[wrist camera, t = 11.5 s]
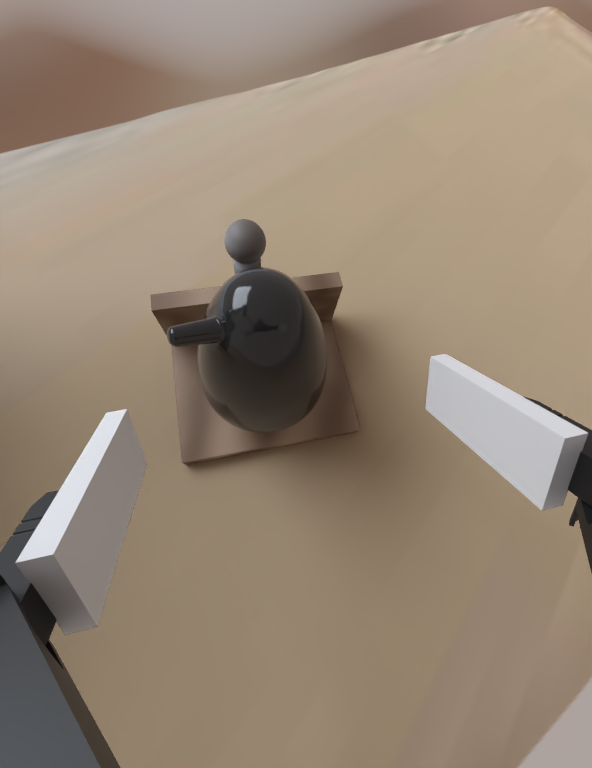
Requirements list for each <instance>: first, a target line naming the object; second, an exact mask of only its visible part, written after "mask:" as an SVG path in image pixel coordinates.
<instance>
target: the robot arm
mask: <svg viewBox="0 0 592 768" xmlns="http://www.w3.org/2000/svg"><path fill="white" fill-rule="evenodd" d="M426 410H427V411H428V412H430V413H431V414H432V415H433V416H434V417H435V418H436V419H438V420H439V421H440V422H441V423H442V424H443V425H444V426H446V427H447V428H448V429H449V430H450V431H451V432H452V433H454V434H455V435H456V436H457V437H458V438H459V439H460V440H462V441H463V442H464V443H465V444H466V445H467V446H468V447H470V448H471V449H472V450H473V451H474V452H475V453H476V454H478V455H479V456H480V457H481V458H482V459H483V460H484V461H486V462H487V463H488V464H489V465H490V466H491V467H492V468H494V469H495V470H496V471H497V472H498V473H499V474H500V475H502V476H503V477H504V478H505V479H506V480H507V481H509V482H510V483H511V484H512V485H513V486H514V487H515V488H517V489H518V490H519V491H520V492H521V493H522V494H523V495H525V496H526V497H527V498H528V499H529V500H530V501H531V502H533V503H534V504H535V505H536V506H537V507H538V508H539V509H541V510H542V511H543V510H546V509H550V508H554V507H558V506H562V505H563V503H564V501H565V498H566V495H567V492H568V490H569V491H570V492H572V493H573V494H574V495H576V496H577V497H578V500H577V502H576V505H575V508H574V510H573V513H572V515H571V518H570V522H569V525H570V526H574V524H575V521H577V520H579V523H580V528H581V531H582V536H583V540H584V544H585V548H586V552H587V556H588V560H589V564H590V568H591V572H592V430H590V429H588V428H586V427H585V426H583V425H581V424H579V423H577V422H575V421H574V420H572V419H570V418H568V417H566V416H563V415H562V414H561V413H559V412H557V411H555V410H552V409H551V408H550V407H548V406H546V405H544V404H542V403H540V402H538V401H535V400H532V399H529V398H526V397H523V396H521V395H519V394H517V393H515V392H513V391H512V390H510V389H508V388H506V387H504V386H503V385H501V384H499V383H497V382H495V381H494V380H492V379H490V378H488V377H486V376H485V375H483V374H481V373H479V372H477V371H476V370H474V369H472V368H470V367H468V366H466V365H465V364H463V363H461V362H459V361H457V360H456V359H454V358H452V357H450V356H448V355H447V354H443V355H437V356H431V357H430V366H429V377H428V387H427V398H426ZM146 465H147V463H146V460H145V457H144V455H143V452H142V449H141V446H140V444H139V441H138V438H137V435H136V432H135V430H134V427H133V424H132V421H131V419H130V416H129V413H128V410H127V409H124V410H119V411H113V412H107V413H106V414H105V416H104V418H103V419H102V421H101V423H100V424H99V426H98V427H97V429H96V431H95V432H94V434H93V436H92V437H91V439H90V441H89V442H88V444H87V446H86V447H85V449H84V450H83V452H82V454H81V455H80V457H79V459H78V460H77V462H76V464H75V465H74V467H73V469H72V470H71V472H70V473H69V475H68V477H67V478H66V480H65V482H64V483H63V485H62V487H61V488H60V490H58V491H53V492H48V493H46V494H45V495H44V496H43V497H41V498H40V499H39V500H38V501H37V502H36V503H35V504H34V505H32V506H31V508H30V509H29V511H28V512H27V514H26V515H25V517H24V518H23V520H22V521H21V522H22V523H21V524H19V525H18V527H17V528H16V530H15V531H14V533H13V536H11V537H10V539H9V540H8V542H7V543H6V545H5V546H4V548H3V549H2V551H1V552H0V768H120V766H119V764H118V762H117V761H116V759H115V757H114V755H113V753H112V751H111V750H110V748H109V746H108V744H107V742H106V741H105V739H104V737H103V735H102V733H101V731H100V730H99V728H98V726H97V724H96V722H95V720H94V719H93V717H92V715H91V713H90V711H89V710H88V708H87V706H86V704H85V702H84V700H83V699H82V697H81V695H80V693H79V691H78V690H77V688H76V686H75V684H74V682H73V680H72V679H71V677H70V675H69V673H68V671H67V669H66V668H65V666H64V664H63V662H62V660H61V659H60V657H59V655H58V653H57V651H56V649H55V648H54V646H53V644H52V643H51V642H50V640H49V637H50V635H51V632H52V630H53V628H54V625H55V623H56V622H57V624H58V625H59V627H60V628H61V630H62V631H63V632H64V634H65V635H67V634H71V633H75V632H78V631H82V630H86V629H90V628H94V627H97V626H98V623H99V620H100V617H101V613H102V610H103V607H104V603H105V600H106V597H107V594H108V590H109V587H110V584H111V580H112V577H113V574H114V571H115V567H116V564H117V561H118V557H119V554H120V551H121V548H122V544H123V541H124V538H125V534H126V531H127V528H128V525H129V521H130V518H131V515H132V511H133V508H134V505H135V502H136V498H137V495H138V492H139V488H140V485H141V482H142V478H143V475H144V472H145V469H146Z"/></svg>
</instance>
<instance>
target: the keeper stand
mask: <svg viewBox="0 0 592 768" xmlns="http://www.w3.org/2000/svg"><path fill="white" fill-rule="evenodd" d="M265 246H266V239H265V235H264V233H263V231H262V229H261V228H260V227H259V226H258V225H257V224H256V223H255V222H253V221H250V220H246V219H242V220H238V221H235V222H234V223H232V224H231V225H230V226H229V227H228V229H227V231H226V234H225V247H226V250H227V252H228V254H229V255H230V256H231V257H232V258H233V263H234V269H235V274H237V273H239V272H241V271H243V270H246V269H250V268H258V267H261V258H260V257H261V256H262V255H263V253H264V250H265ZM291 279H293V280H294V281H295V282H296V283H297V284H298V285H299V286H300V287H301V288H302V289H303V290H304V291H305V293H306V294H307V296H308V297H309V299H310V300H311V302H312V304H313V305H314V307H315V309H316V311H317V314H318V316H319V318H320V321H321V324H322V327H323V330H324V334H325V339H326V345H327V373H326V380H325V385H324V388H323V391H322V394H321V396H320V398H319V400H318V402H317V404H316V405H315V407H314V408H313V409H312V411H311V412H310V413H309V414H308V415H307V416H306V417H305V418H304V419H302V420H301V421H300V422H298V423H297V424H295V425H293V426H291V427H289V428H286V429H284V430H280V431H276V432H269V433H257V432H250V431H246V430H243V429H240V428H237V427H235V426H233V425H231V424H230V423H228V422H227V421H225V420H224V419H223V418H221V417H220V416H219V415H218V414H217V413H216V412H215V410H214V409H213V408H212V407H211V405H210V404H209V402H208V400H207V398H206V396H205V394H204V392H203V389H202V386H201V382H200V378H199V372H198V364H197V346H198V345H191V346H181V347H174V346H172V355H173V366H174V377H175V388H176V400H177V411H178V422H179V433H180V444H181V455H182V463H184V464H190V463H196V462H201V461H206V460H211V459H217V458H222V457H227V456H232V455H237V454H243V453H248V452H253V451H258V450H264V449H269V448H274V447H279V446H285V445H290V444H295V443H300V442H306V441H311V440H316V439H321V438H326V437H332V436H337V435H342V434H347V433H353V432H357V431H358V430H360V426H359V423H358V419H357V415H356V411H355V408H354V404H353V400H352V397H351V393H350V389H349V385H348V382H347V378H346V374H345V371H344V367H343V363H342V359H341V356H340V352H339V348H338V344H337V341H336V337H335V333H334V330H333V326H332V322H331V320H332V317H333V314H334V311H335V308H336V305H337V302H338V299H339V296H340V293H341V290H342V287H343V285H342V282H341V278H340V275H339V272H335V273H327V274H319V275H310V276H302V277H294V278H291ZM220 287H221V286H219V287H211V288H202V289H194V290H186V291H177V292H169V293H161V294H153V295H151V308H152V312H153V314H154V315H155V317H156V319H157V320H158V322H159V324H160V325H161V327H162V328H163V330H164V332H165V333H166V335H167V330H168V328H169V327H171V326H176V325H180V324H185V323H189V322H194V321H198V320H203V318H204V316H205V313H206V310H207V308H208V306H209V304H210V302H211V300H212V298H213V296H214V295H215V293H216V292H217V291H218V289H219V288H220Z"/></svg>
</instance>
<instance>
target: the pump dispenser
mask: <svg viewBox="0 0 592 768" xmlns="http://www.w3.org/2000/svg"><path fill="white" fill-rule="evenodd" d="M167 339H168V341H169V343H170V344H171V345H172V346H174V347H181V346H191V345H198V346H197V364H198V372H199V378H200V382H201V386H202V389H203V392H204V394H205V396H206V398H207V400H208V402H209V404H210V405H211V407H212V408H213V409H214V410H215V412H216V413H217V414H218V415H219V416H220V417H221V418H223V419H224V420H225V421H227V422H228V423H230V424H231V425H233V426H235V427H237V428H240V429H243V430H246V431H250V432H257V433H269V432H276V431H280V430H284V429H286V428H289V427H291V426H293V425H295V424H297V423H298V422H300V421H301V420H302V419H304V418H305V417H306V416H307V415H308V414H309V413H310V412H311V411H312V409H313V408H314V407H315V405H316V404H317V402H318V400H319V398H320V396H321V394H322V391H323V388H324V385H325V380H326V373H327V345H326V339H325V334H324V330H323V327H322V324H321V321H320V318H319V316H318V314H317V311H316V309H315V307H314V305H313V304H312V302H311V300H310V299H309V297H308V296H307V294H306V293H305V291H304V290H303V289H302V288H301V287H300V286H299V285H298V284H297V283H296V282H295V281H294V280H293V279H291V278H290V277H289V276H287V275H286V274H284V273H282V272H280V271H277V270H274V269H270V268H262V267H258V268H250V269H246V270H243V271H241V272H239V273H237V274H235V275H234V276H232V277H231V278H229V279H228V280H227V281H226V282H225V283H224V284H223V285H222V286H221V287H220V288H219V289H218V291H217V292H216V293H215V295H214V296H213V298H212V300H211V302H210V304H209V306H208V308H207V310H206V313H205V316H204V318H203V320H198V321H194V322H189V323H185V324H180V325H176V326H171V327H169V328H168V330H167Z"/></svg>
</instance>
